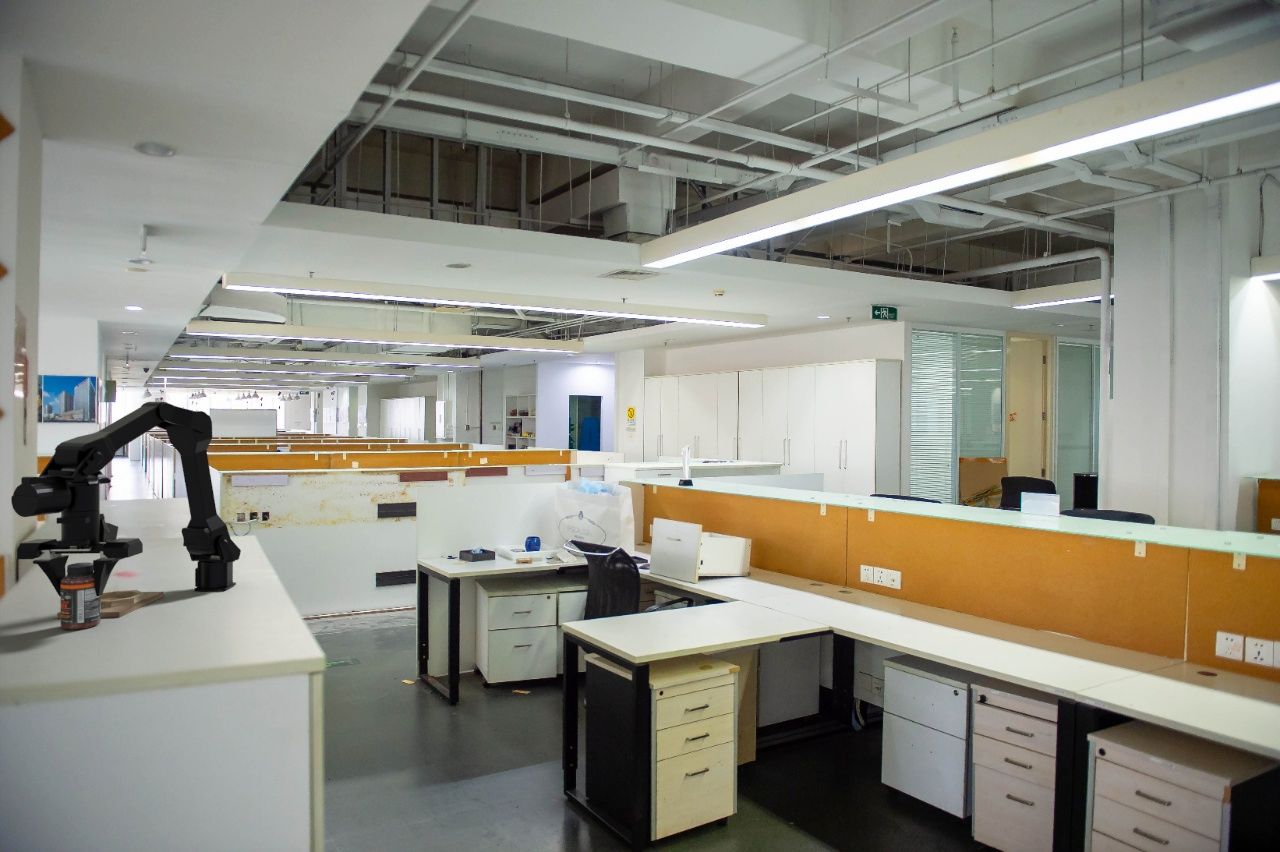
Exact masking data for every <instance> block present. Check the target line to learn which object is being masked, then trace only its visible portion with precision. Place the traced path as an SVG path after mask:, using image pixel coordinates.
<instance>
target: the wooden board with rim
mask: <svg viewBox="0 0 1280 852" xmlns="http://www.w3.org/2000/svg"><path fill="white" fill-rule="evenodd" d="M164 596H165V591H140V590H137V589H131V590H128V589H126V590H125V589H124V590H123V589H120V590H117V589H116V590H110V591H103V594H102V595H101V602H100V603H101V604H100V605H101V607H100V612H101V613H100V619H101V618H120V617H123V616H125V615H127V614H129V613H132V612H133V611H135V610H138V609H140V608H142V607H144V606H146V605H148V604H150V603H152V602H155V601H157V600H160V599H161V598H163V597H164ZM56 618H57V619H61V611H59V612H57V613H56Z"/></svg>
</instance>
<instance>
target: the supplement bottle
mask: <svg viewBox="0 0 1280 852" xmlns="http://www.w3.org/2000/svg"><path fill="white" fill-rule="evenodd" d="M66 573H67V574H66V577H64V578H63V579H62V580H61V589H60V590H61V596H59V597H60V612H61V618H60V628H61V629H64V630H69V631H70V630H71V631H75V630H84V629H89V628H94V627H96V626H97V625H99V624H100V622H101V618H100V613H101V612H100V607H101V605H100V604H101V603H100V602H101V596H97V595H96V591H95V582H94V569H93V562H89V561H87V562H76V563H75V562H74V563H71V564H68V565H67V566H66Z"/></svg>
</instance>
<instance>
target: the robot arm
mask: <svg viewBox="0 0 1280 852" xmlns="http://www.w3.org/2000/svg"><path fill="white" fill-rule="evenodd" d="M154 428H158V429H161V430H164V431H166V434H167V437H168V440H169V442H170V444H171V445H172V446H173V448H174V449H175V450H176V451H177V453H178V454H179V455H180V461H181V466H182V474H183V479H184V485H185V491H186V496H187V497H186V498H187V502H188V503H187V504H188V507H189V514H190V520H189V521H188V524H187V526H186V527H182V528H181V535H182V538H183V543H182V546H183V547H186V551H187V552H188V554H189V557H190V560H191V561H192V562H197V567H195V568H194V586H195V587H194V588H193V591H194V592H210V591H211V592H213V591H214V592H215V591H217V592H218V591H219V592H220V591H221V592H222V591H227V590H229V589H230V588H232V587H234V586H236V585H237V582H236V581H235V582H234V580H233V579H234V568H233V567H234V562H235V561H239V559H240V555H241V554H242V553H241V551H242V550H241V549H240V548H239V546H238V545H237V544H236V543H235V542H234V541H233V540H232V539H231V535H230V533H229V530H228V526H227V524H226V523H225V521H224V520H223V519H222V518H221V517H220V516H219V514H218V512H217V507H216V500H215V494H214V489H213V488H214V487H213V483H212V482H213V481H212V475H211V470H210V463H209V457H208V448H209V446H210V444H211V442H212V439H213V421H212V418H211V415H210V414H208V413H206V412H205V411H201V410H191V409H187V408H183V407H180V406H176V405H174V404H171V403H168V402H167V401H146V402H145V403H142V405H141V406H140V407H139V408H137V409H135V410H133V411H132V412H129V413H127V414H126V415H124V416H123V417H120V418H119V419H117V420H116V421H114V422H112V423H110V424H108V425H107V426H105V427H103V428H102V429H100V430H98V431H96V432H93V433H89V434H85V435H79V436H76V437H74V438H71V439H68V440H65V441H62V442H60V443H59V444H58V445H56V447H55V448H54V454H53V455H52V457H51V459H50V460H49V461H48V463H47V464H46V466H45V467H44V468H43V470H42V471H41V473H40V474H39V475H38V476H22V477H21V480H20V483H21V484H19V485H18V486H16V488H15V489H14V492H13V494H12V495H11V506H12V509H13V511H14V512H15V513H16V514H17V515H19V517H22V518H30V517H31V518H32V517H37V516H46V515H52V514H53V515H54V514H59V513H60V514H61V515H60V516H59V517H56V524H57V525H58V524H60V535H61V536H60V539H58V540H57V538H35V539H32V540H27V541H24V542H20V543H19V544H18V545H17V547H16V549H15V560H32V564H33V565H37V566H38V567H39V568H40V570H41V571H42V572H43V573H44V575H45V576H46V577H47V579H48V580H49V582H50V583H51V585H52V587H53V588H54V590H55V591H56V593H57V596H59V597H60V596H61V590H60V589H61V580H62V579H63V578H64V577H66V576H67V574H66V573H67V569H66V565H67V562H68V559H69V557H70V554H71V555H72V554H73V555H75V554H76V555H77V554H79V555H80V554H86V555H87V554H99V556H100V557H99V558H96V559H94V560H92V563H93V569H94V571H93V572H94V582H95V591H96V595H97V596H101V595H102V594H103V592H105V588H106V586H107V584H108V581H109V578H110V577H111V573H112V572H113V570H114V568H115V566H116V565H117V563H118V562H119V561H121V560H124V559H127V558H131V557H134V556H136V555H139V554H140V555H141V554H143V550H144V549H143V547H144V546H143V545H144V544H143V543H142V541H141V540H140V538H139V537H136V538H135V537H132V538H130V537H129V538H127V537H126V538H123V537H122V538H120V537H119V538H117V537H118V532H119V526H117V525H115V524H112V523H109V522H107V521H106V520H105V519H106V518H105V514H104V513H101V512H100V511H101V507H100V505H101V503H100V501H101V500H100V499H101V498H100V497H101V496H100V493H101V492H100V488H101V487H100V486H101V485H103V484H110V483H111V482H112V479H110V478H109V477H108V476H106V475H104V473H103V472H102V470H103V469H104V468H105V467H106V466H107V465H108V464H110V463H111V462H112V461H113V460H114V458H115V455H116V453H117V452H118V451H119V450H120V449H122V448H123V447H125V446H126V445H128V444H130V443H132V442H133V441H135V440H136V439H138V438H140V437H141V436H142V435H144V434H146V433H148V432H149V431H151V430H153V429H154ZM34 559H35V560H34Z"/></svg>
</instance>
